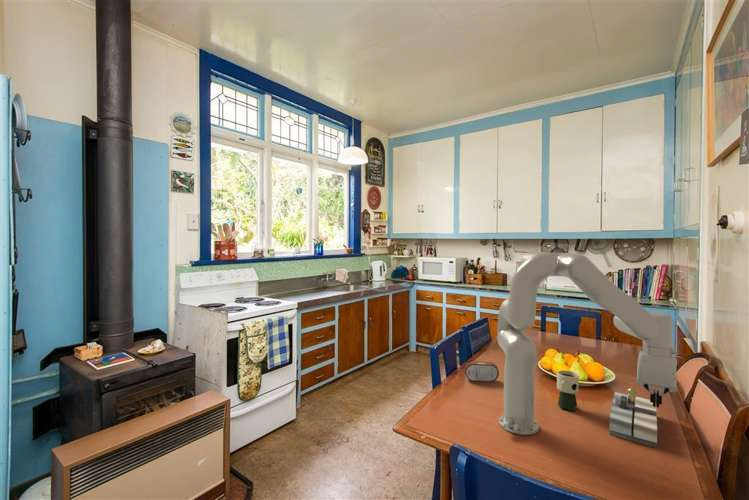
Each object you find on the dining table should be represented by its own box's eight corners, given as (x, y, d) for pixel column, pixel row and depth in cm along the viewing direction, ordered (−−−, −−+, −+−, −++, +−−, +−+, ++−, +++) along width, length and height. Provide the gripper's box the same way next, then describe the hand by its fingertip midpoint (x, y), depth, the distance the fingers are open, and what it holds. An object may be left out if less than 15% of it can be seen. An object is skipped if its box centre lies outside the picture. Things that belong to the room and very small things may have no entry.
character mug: (572, 416, 125) (573, 380, 125) (551, 409, 131) (552, 374, 130) (582, 406, 133) (583, 372, 132) (562, 400, 138) (562, 367, 138)
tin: (497, 380, 158) (497, 361, 158) (499, 383, 155) (499, 364, 155) (463, 379, 160) (463, 360, 159) (464, 381, 156) (464, 363, 156)
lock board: (656, 447, 106) (657, 420, 106) (609, 434, 114) (609, 409, 113) (655, 416, 125) (655, 392, 125) (614, 406, 133) (615, 384, 132)
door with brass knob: (635, 409, 118) (636, 390, 118) (615, 404, 122) (615, 386, 121) (635, 406, 120) (636, 387, 120) (615, 401, 123) (616, 383, 123)
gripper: (686, 351, 114) (685, 407, 114) (629, 343, 123) (628, 395, 123) (688, 358, 108) (687, 417, 108) (628, 349, 117) (627, 403, 117)
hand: (655, 405), depth 116 cm, fingers closed
